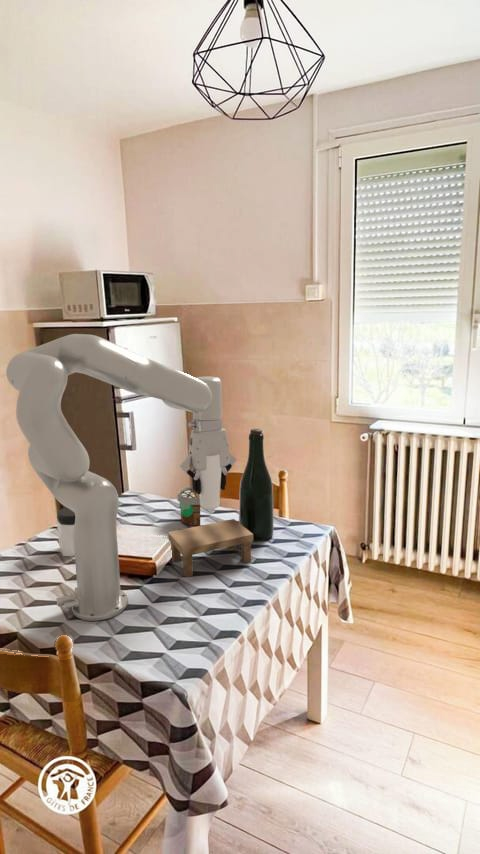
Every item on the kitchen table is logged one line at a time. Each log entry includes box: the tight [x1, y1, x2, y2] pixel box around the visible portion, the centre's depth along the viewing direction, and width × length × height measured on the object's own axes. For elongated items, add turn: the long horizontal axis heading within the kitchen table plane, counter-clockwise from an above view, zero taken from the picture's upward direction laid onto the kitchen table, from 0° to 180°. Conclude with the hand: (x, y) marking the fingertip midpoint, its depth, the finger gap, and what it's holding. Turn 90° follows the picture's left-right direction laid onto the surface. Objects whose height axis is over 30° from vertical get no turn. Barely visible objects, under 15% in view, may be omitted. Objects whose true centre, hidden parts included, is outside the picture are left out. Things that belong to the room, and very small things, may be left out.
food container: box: [176, 486, 201, 528], centre depth 169 cm, size 12×6×10 cm, turn 17°
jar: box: [56, 507, 75, 557], centre depth 150 cm, size 9×8×12 cm
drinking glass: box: [198, 454, 222, 510], centre depth 139 cm, size 7×7×15 cm
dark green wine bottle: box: [238, 428, 275, 542], centre depth 157 cm, size 10×10×33 cm
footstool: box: [167, 518, 254, 578], centre depth 143 cm, size 20×12×8 cm, turn 117°
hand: (209, 490), depth 140 cm, fingers closed on drinking glass, 6 cm apart
